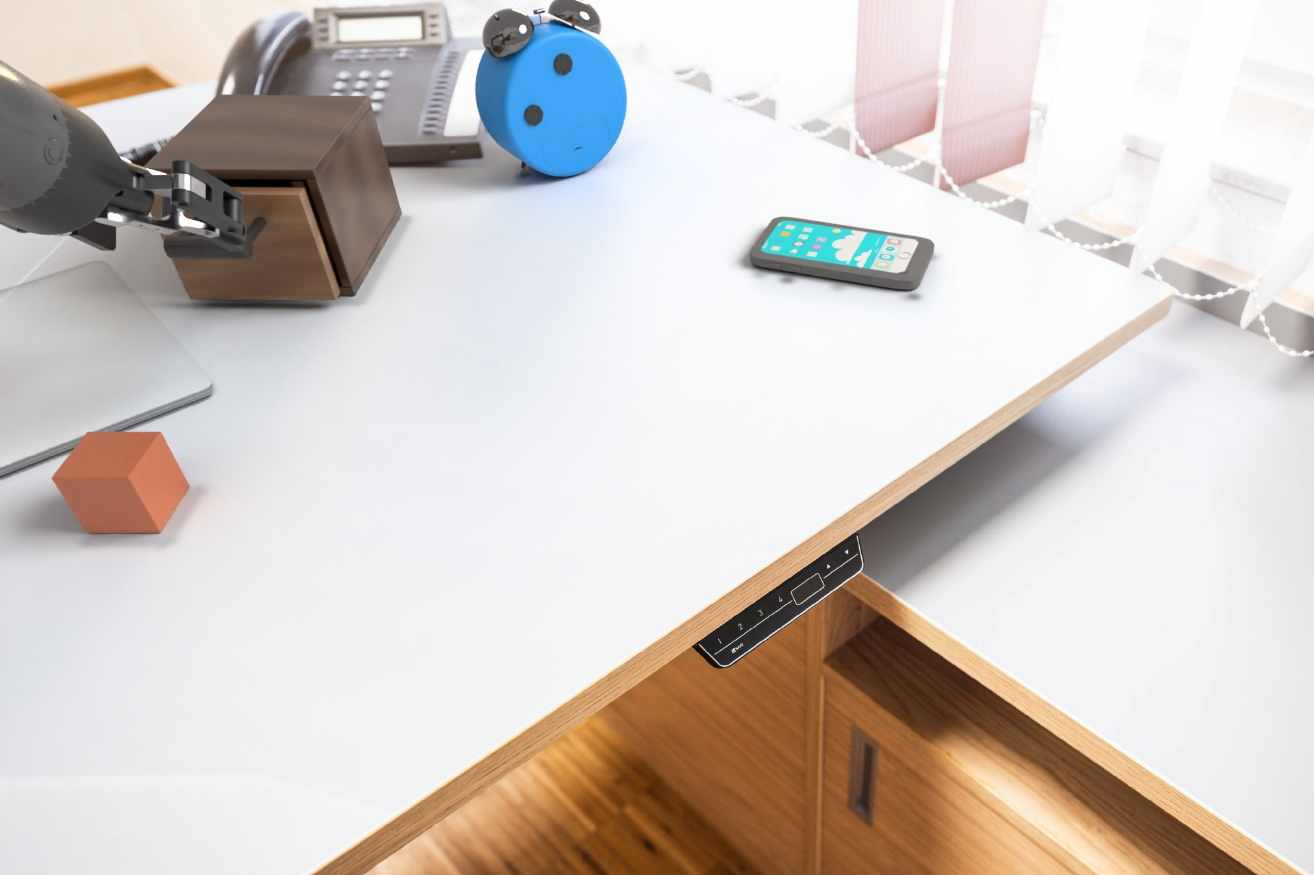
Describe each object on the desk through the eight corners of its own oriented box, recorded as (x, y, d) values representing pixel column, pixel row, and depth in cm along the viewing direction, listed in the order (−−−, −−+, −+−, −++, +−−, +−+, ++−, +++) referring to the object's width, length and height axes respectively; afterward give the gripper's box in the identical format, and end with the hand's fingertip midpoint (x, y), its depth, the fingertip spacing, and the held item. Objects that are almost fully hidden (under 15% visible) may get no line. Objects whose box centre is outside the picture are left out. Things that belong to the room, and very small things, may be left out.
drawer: (315, 334, 79) (275, 226, 73) (162, 334, 79) (109, 225, 73) (383, 221, 93) (353, 121, 87) (252, 220, 92) (213, 120, 86)
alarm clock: (603, 140, 108) (583, -19, 98) (637, 160, 105) (619, -2, 95) (489, 174, 102) (454, 8, 92) (521, 196, 99) (488, 27, 88)
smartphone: (917, 282, 87) (745, 255, 89) (916, 293, 87) (745, 265, 90) (937, 236, 93) (776, 211, 95) (936, 246, 93) (776, 222, 96)
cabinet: (355, 296, 85) (313, 169, 78) (197, 295, 85) (140, 168, 77) (402, 213, 96) (369, 95, 88) (262, 212, 95) (217, 94, 88)
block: (86, 533, 65) (50, 477, 61) (119, 486, 68) (87, 431, 65) (160, 533, 65) (128, 477, 62) (190, 486, 68) (161, 431, 65)
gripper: (130, 69, 55) (281, 183, 71) (-148, 66, 55) (68, 181, 71) (129, 210, 55) (280, 292, 71) (-149, 208, 55) (67, 291, 71)
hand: (174, 237), depth 71 cm, fingers open, 8 cm apart
